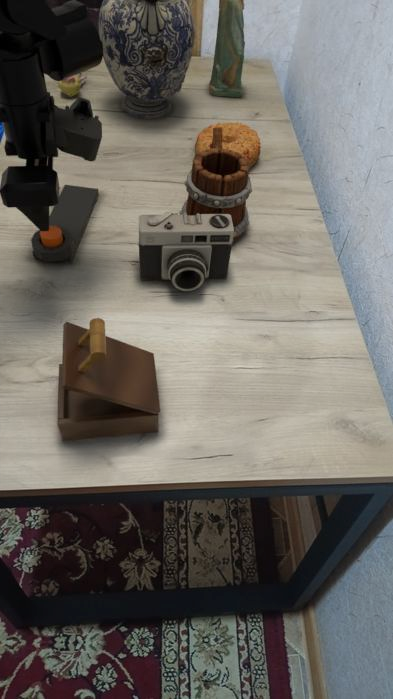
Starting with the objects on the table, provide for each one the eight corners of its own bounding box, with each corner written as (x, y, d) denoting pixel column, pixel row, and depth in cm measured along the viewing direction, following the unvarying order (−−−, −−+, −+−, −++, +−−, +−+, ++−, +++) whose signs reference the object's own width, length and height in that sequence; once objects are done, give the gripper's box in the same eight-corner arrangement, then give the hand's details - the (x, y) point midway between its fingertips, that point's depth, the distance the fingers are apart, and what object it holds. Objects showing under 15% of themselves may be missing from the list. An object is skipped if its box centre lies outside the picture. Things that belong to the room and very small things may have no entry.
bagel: (266, 148, 101) (270, 124, 97) (247, 183, 93) (252, 159, 89) (206, 133, 103) (209, 109, 99) (184, 166, 95) (185, 142, 91)
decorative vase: (196, 132, 103) (208, -32, 80) (106, 133, 100) (93, -36, 78) (182, 83, 115) (190, -69, 93) (102, 83, 112) (90, -74, 90)
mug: (180, 249, 80) (184, 157, 70) (177, 208, 90) (180, 123, 80) (251, 250, 81) (265, 160, 71) (240, 209, 91) (251, 125, 81)
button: (59, 249, 74) (58, 240, 73) (39, 246, 75) (36, 237, 73) (65, 235, 76) (64, 226, 75) (45, 233, 76) (43, 224, 75)
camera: (134, 295, 73) (132, 241, 65) (140, 256, 79) (140, 202, 71) (226, 302, 74) (236, 250, 66) (226, 262, 79) (234, 210, 72)
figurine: (64, 71, 116) (56, 98, 107) (61, 51, 113) (53, 77, 103) (89, 73, 117) (83, 100, 107) (88, 52, 114) (81, 78, 104)
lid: (61, 388, 49) (86, 363, 47) (63, 324, 54) (85, 298, 52) (156, 414, 56) (183, 394, 54) (150, 356, 61) (174, 334, 59)
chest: (62, 441, 58) (57, 424, 55) (63, 382, 63) (58, 363, 60) (158, 432, 60) (158, 415, 57) (152, 375, 65) (152, 356, 62)
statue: (246, 99, 113) (266, -34, 93) (210, 98, 112) (222, -37, 92) (242, 85, 117) (260, -46, 97) (207, 84, 116) (218, -48, 96)
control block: (69, 269, 76) (66, 255, 73) (30, 264, 76) (26, 249, 73) (99, 194, 88) (97, 179, 85) (65, 190, 88) (63, 175, 85)
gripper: (94, 138, 51) (107, 252, 63) (93, 56, 62) (104, 167, 74) (-19, 139, 49) (17, 256, 62) (1, 56, 60) (28, 169, 73)
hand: (46, 208), depth 68 cm, fingers open, 9 cm apart
